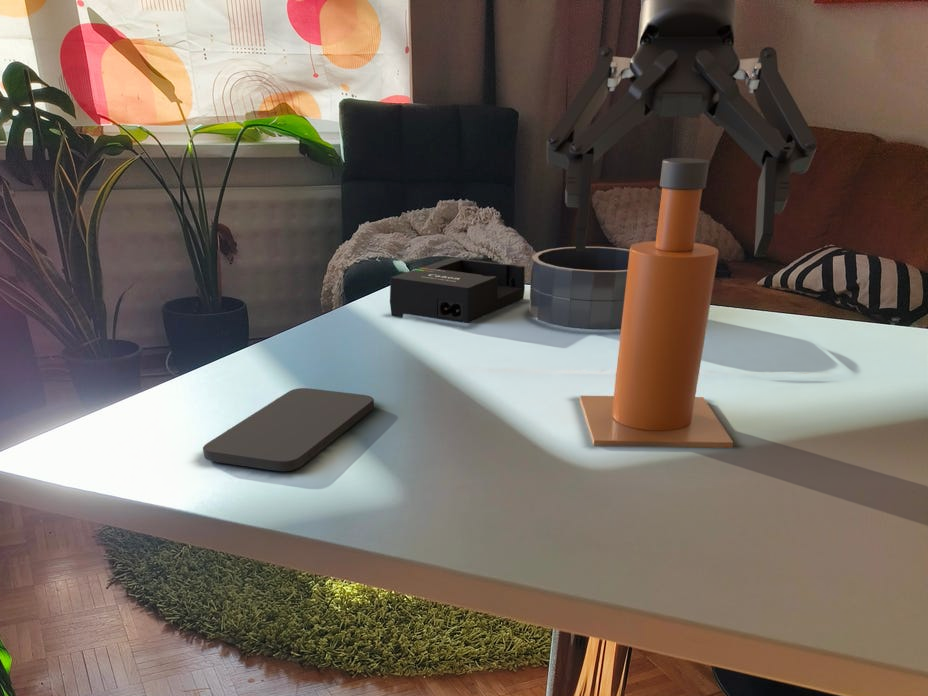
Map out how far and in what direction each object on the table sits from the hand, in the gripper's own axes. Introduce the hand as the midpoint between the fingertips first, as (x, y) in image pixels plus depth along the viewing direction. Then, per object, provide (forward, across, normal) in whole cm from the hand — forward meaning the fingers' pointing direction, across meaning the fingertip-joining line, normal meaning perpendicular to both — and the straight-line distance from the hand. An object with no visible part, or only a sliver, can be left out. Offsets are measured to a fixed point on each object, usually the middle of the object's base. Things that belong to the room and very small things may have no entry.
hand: (671, 243), depth 68 cm
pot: (-9, +6, -26) cm, 28 cm away
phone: (+18, +26, +1) cm, 32 cm away
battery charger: (-10, +20, -27) cm, 35 cm away
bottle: (+13, 0, -3) cm, 13 cm away
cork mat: (+13, 0, -3) cm, 14 cm away
